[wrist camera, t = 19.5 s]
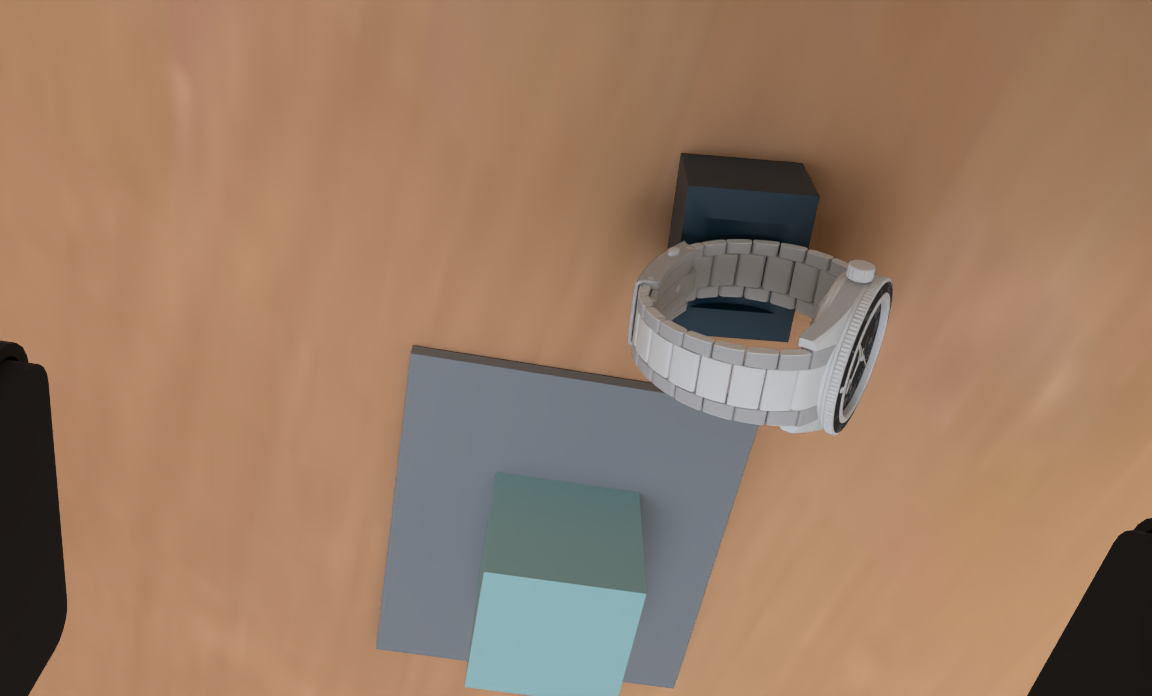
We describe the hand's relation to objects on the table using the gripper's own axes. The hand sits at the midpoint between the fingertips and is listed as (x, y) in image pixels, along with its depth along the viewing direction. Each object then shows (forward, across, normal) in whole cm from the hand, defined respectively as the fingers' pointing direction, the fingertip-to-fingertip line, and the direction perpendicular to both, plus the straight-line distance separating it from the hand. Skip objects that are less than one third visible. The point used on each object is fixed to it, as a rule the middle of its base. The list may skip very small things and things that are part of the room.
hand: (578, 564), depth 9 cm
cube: (+28, -3, +23) cm, 36 cm away
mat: (+28, -3, +23) cm, 37 cm away
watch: (+28, -7, +8) cm, 30 cm away
